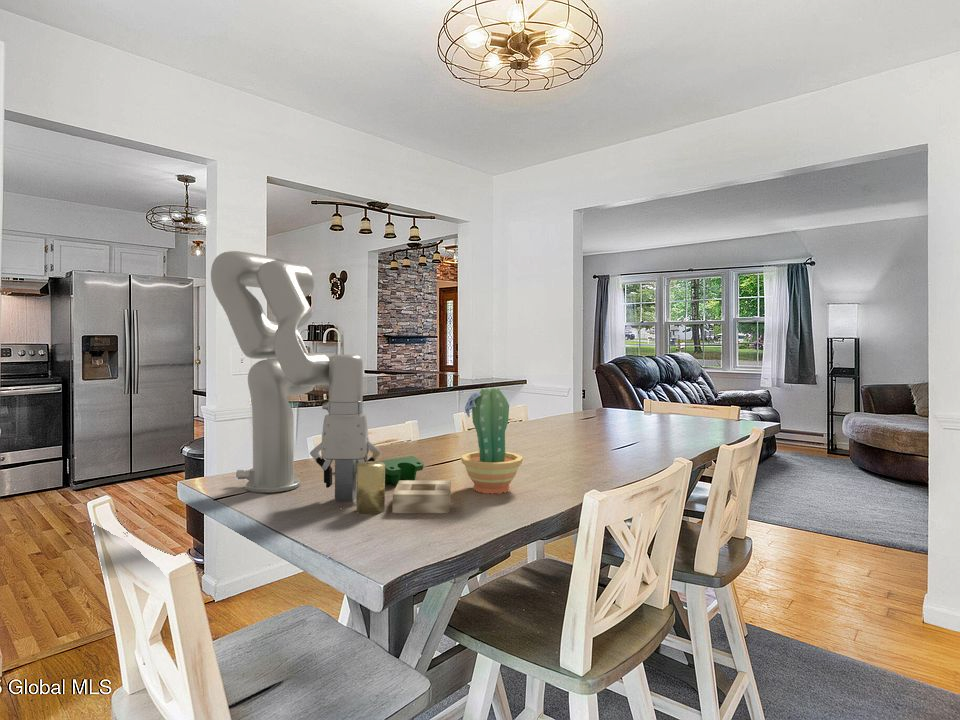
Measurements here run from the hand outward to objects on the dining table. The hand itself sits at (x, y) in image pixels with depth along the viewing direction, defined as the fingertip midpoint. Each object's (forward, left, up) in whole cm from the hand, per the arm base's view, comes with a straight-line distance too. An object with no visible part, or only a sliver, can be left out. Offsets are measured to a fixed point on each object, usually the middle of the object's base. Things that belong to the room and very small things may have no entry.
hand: (345, 485), depth 132 cm
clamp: (+11, +16, -4) cm, 20 cm away
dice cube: (-3, +29, -4) cm, 30 cm away
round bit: (+7, -8, -3) cm, 11 cm away
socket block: (+18, -4, -3) cm, 19 cm away
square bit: (0, 0, -3) cm, 3 cm away
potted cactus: (+34, +10, -3) cm, 36 cm away
